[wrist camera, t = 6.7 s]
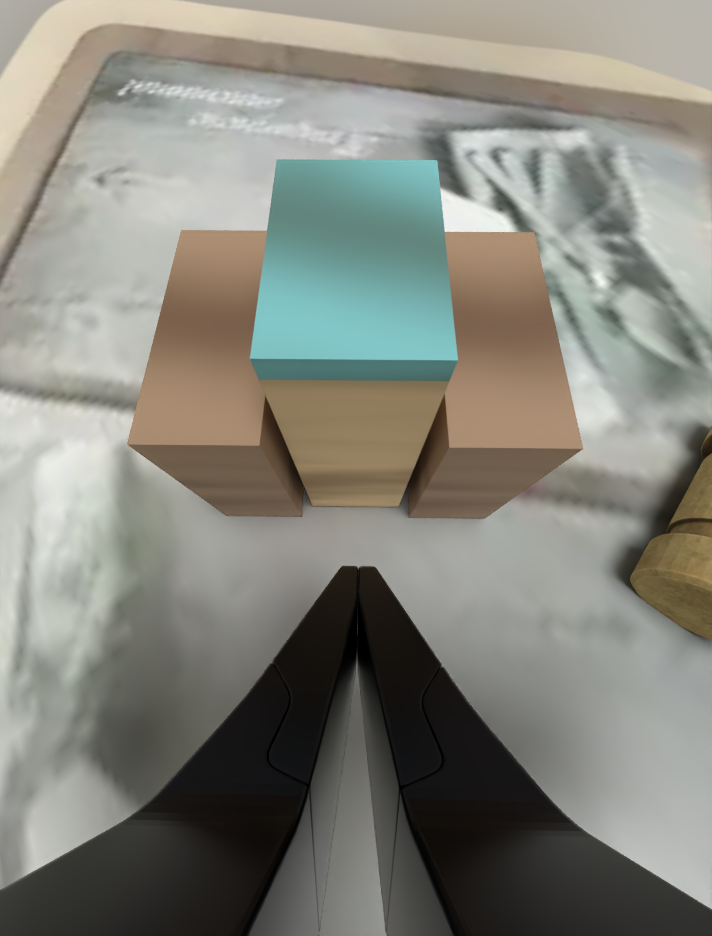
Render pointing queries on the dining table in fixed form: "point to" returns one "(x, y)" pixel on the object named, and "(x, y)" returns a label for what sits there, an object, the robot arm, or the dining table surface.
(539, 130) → the dining table surface
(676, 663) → the dining table surface
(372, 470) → the block
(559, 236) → the dining table surface
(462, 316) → the socket block
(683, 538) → the gavel
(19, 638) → the dining table surface
